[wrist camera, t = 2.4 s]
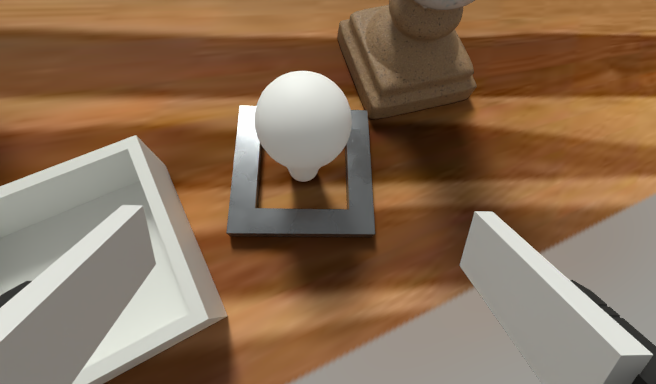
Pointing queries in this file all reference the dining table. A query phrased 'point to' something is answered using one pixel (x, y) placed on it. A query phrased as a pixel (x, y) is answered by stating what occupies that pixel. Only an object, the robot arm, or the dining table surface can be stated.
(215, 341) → the dining table surface
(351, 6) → the dining table surface
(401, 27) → the candle holder
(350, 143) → the dark grey square frame
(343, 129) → the lightbulb
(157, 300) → the bin
